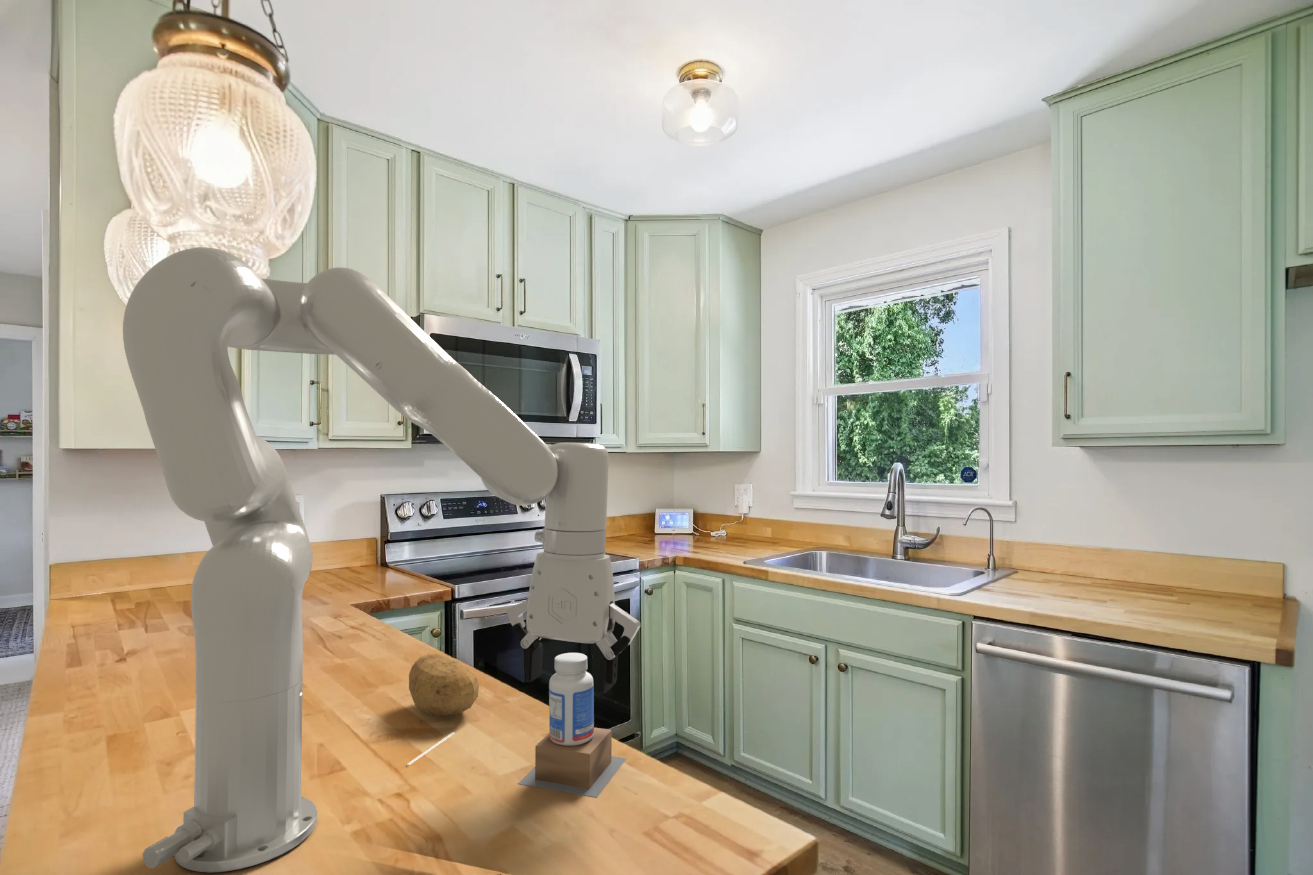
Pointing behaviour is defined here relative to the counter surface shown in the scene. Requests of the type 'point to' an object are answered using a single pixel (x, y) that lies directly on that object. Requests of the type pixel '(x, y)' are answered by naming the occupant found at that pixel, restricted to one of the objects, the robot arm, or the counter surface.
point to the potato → (442, 685)
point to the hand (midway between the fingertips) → (569, 683)
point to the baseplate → (592, 792)
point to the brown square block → (574, 760)
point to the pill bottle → (571, 701)
